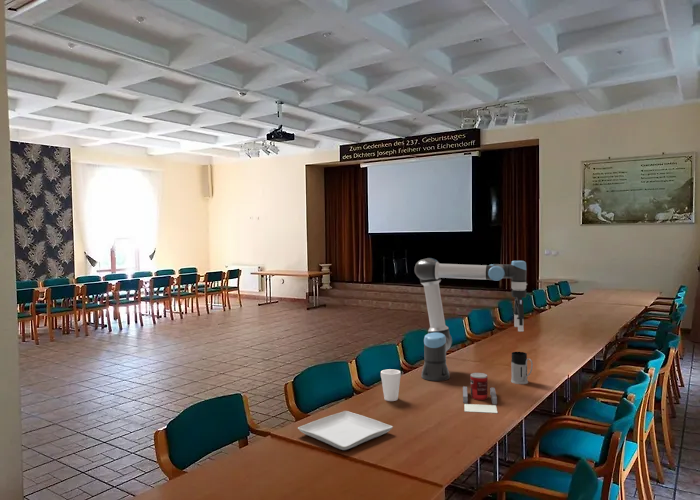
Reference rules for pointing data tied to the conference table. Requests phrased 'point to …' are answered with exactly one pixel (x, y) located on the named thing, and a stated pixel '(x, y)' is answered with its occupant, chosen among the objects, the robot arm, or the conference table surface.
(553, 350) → the conference table surface
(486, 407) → the chute
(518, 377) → the white and black mug
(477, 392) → the canned food
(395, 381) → the foam cup
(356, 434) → the square plate
